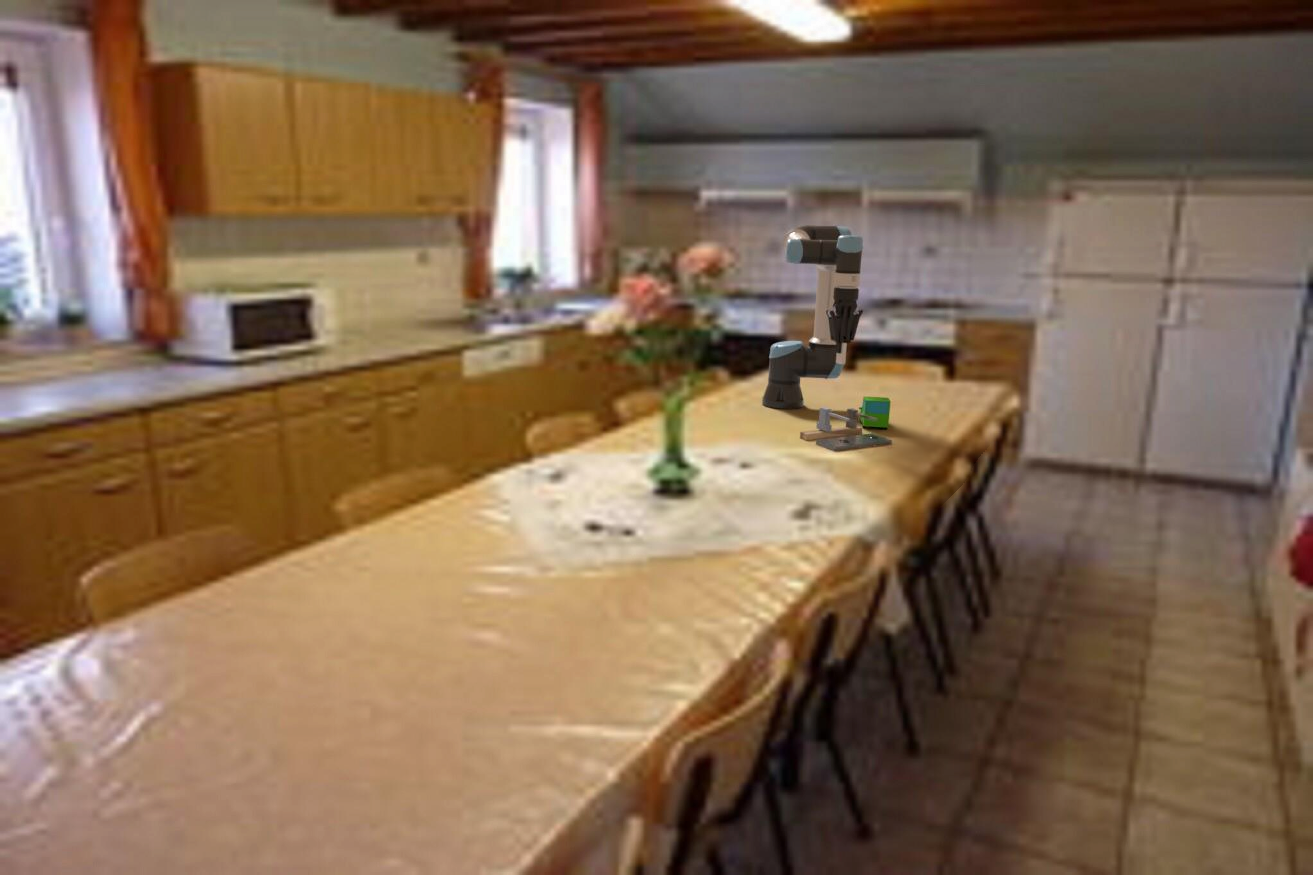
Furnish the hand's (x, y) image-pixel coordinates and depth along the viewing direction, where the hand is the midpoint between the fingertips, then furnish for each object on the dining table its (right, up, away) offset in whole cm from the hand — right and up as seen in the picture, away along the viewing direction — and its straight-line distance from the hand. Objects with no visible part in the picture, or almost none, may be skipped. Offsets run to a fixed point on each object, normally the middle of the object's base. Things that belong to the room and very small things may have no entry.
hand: (840, 363), depth 294 cm
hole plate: (+4, -25, +1) cm, 25 cm away
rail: (+1, -24, +6) cm, 25 cm away
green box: (+16, -19, +26) cm, 36 cm away
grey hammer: (-2, -22, +4) cm, 22 cm away
